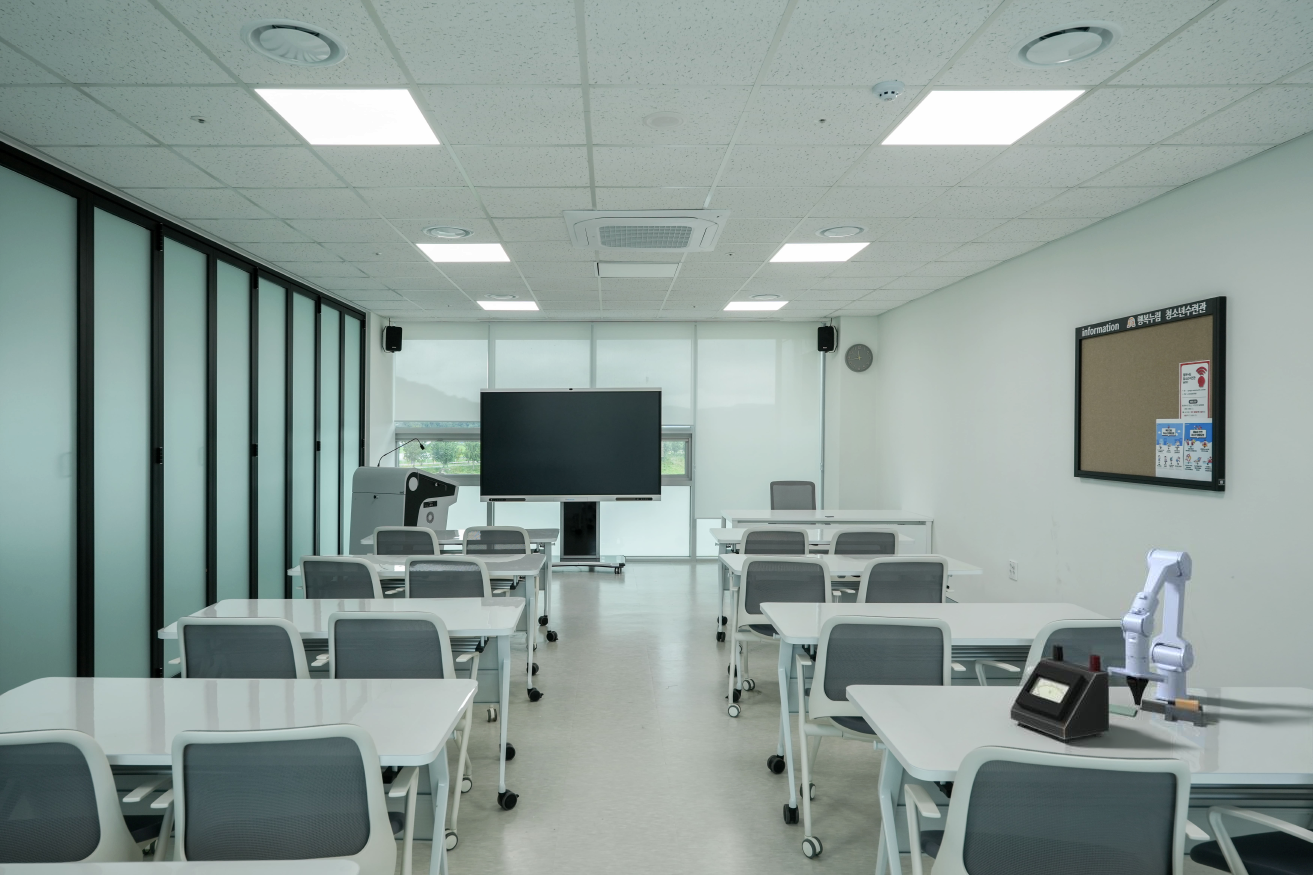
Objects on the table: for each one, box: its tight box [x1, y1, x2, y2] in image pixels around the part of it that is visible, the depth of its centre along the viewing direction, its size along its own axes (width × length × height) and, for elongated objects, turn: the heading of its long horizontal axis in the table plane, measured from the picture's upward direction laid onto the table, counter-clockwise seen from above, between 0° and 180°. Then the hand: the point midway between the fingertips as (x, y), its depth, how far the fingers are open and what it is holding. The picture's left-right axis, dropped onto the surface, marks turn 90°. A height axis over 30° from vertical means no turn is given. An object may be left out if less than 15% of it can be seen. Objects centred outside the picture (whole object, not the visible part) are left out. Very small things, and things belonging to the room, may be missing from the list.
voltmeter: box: [1009, 644, 1110, 743], centre depth 196 cm, size 16×16×20 cm
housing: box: [1164, 699, 1204, 728], centre depth 209 cm, size 15×8×3 cm, turn 142°
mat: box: [1109, 703, 1137, 718], centre depth 213 cm, size 8×8×1 cm
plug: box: [1141, 697, 1199, 715], centre depth 211 cm, size 4×13×4 cm, turn 52°
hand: (1137, 704), depth 216 cm, fingers closed
